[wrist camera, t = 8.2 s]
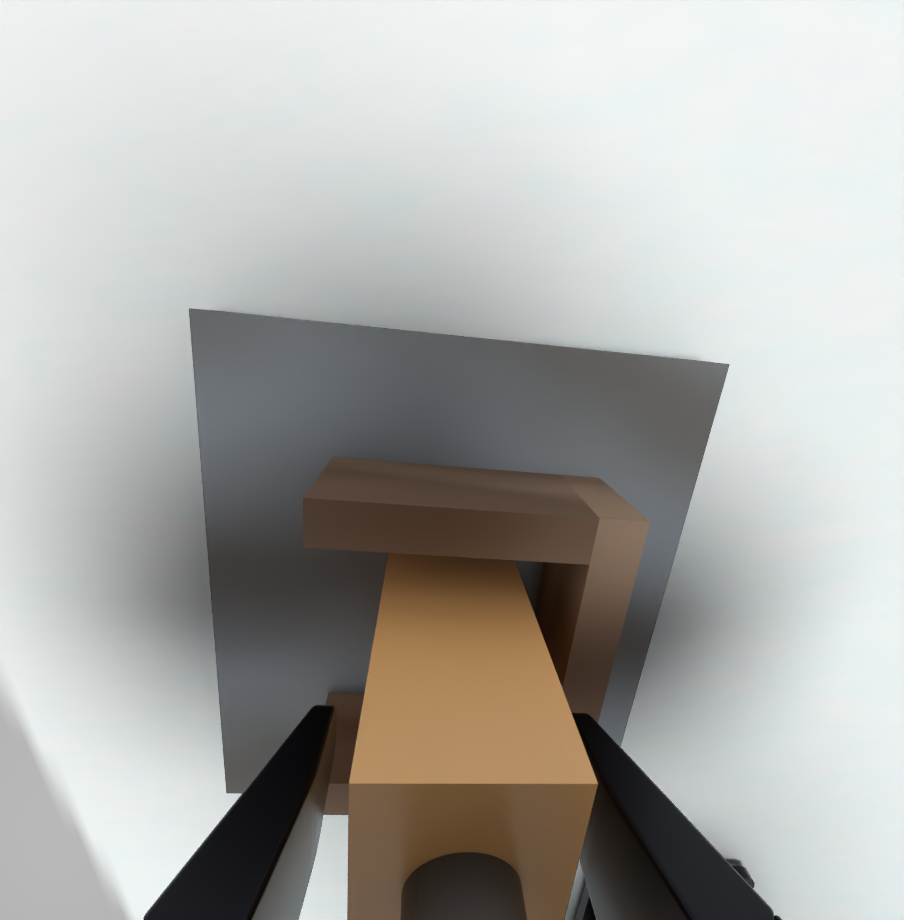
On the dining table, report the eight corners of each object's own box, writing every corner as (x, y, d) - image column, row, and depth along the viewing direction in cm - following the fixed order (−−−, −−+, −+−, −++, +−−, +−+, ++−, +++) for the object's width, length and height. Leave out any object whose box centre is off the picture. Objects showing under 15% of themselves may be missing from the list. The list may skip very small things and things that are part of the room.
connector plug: (491, 669, 12) (601, 1257, 4) (385, 667, 12) (309, 1284, 4) (508, 543, 11) (698, 1051, 3) (390, 538, 11) (299, 1071, 3)
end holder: (594, 768, 15) (642, 895, 11) (240, 761, 14) (180, 898, 10) (702, 361, 11) (826, 375, 7) (212, 310, 10) (100, 301, 6)
